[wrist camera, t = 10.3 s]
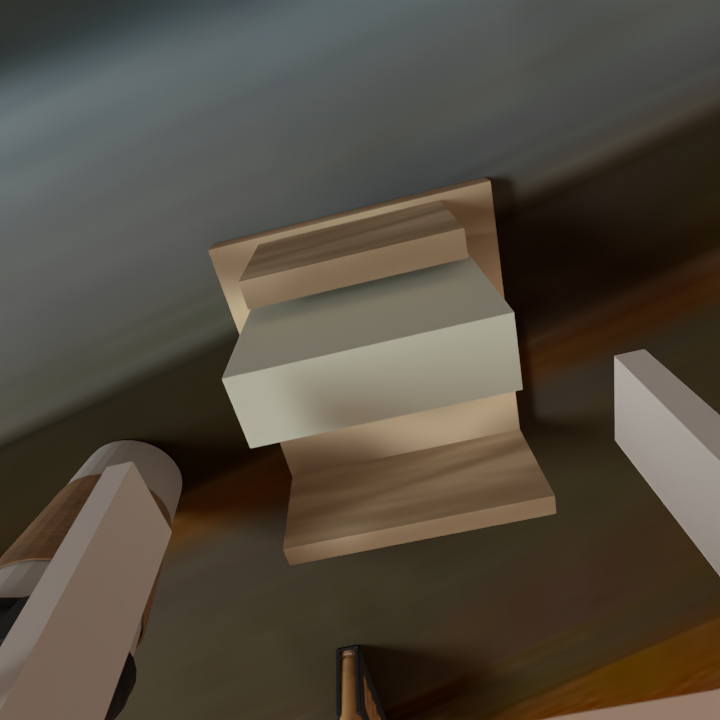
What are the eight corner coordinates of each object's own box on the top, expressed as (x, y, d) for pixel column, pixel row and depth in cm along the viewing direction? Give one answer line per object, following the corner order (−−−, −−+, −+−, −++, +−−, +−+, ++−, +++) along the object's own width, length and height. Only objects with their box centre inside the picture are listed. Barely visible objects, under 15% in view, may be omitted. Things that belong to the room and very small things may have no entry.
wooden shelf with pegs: (213, 243, 27) (175, 289, 21) (484, 177, 26) (529, 204, 20) (300, 482, 34) (291, 569, 28) (516, 437, 33) (556, 517, 27)
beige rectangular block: (261, 283, 27) (221, 378, 18) (455, 237, 26) (514, 312, 17) (279, 336, 28) (250, 448, 19) (464, 293, 28) (522, 389, 19)
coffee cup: (187, 417, 32) (76, 652, 19) (214, 523, 36) (137, 781, 22) (48, 426, 32) (-165, 668, 19) (89, 531, 36) (-63, 795, 22)
